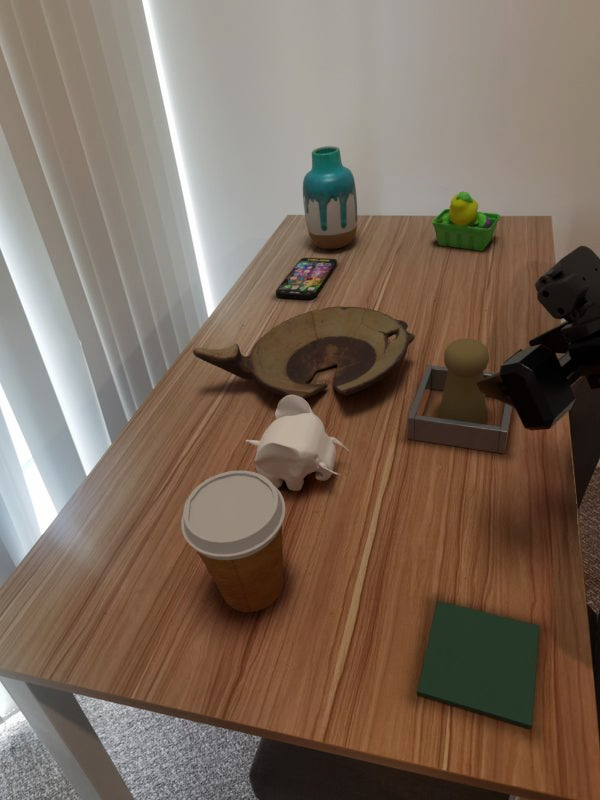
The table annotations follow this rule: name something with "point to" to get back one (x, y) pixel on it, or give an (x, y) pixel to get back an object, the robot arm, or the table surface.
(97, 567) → the table surface
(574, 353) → the robot arm
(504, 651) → the coaster
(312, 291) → the smartphone
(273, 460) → the elephant figurine
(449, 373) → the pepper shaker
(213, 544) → the disposable coffee cup
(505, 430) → the holder
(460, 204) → the fruit basket
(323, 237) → the vase
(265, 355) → the brown shallow dish
